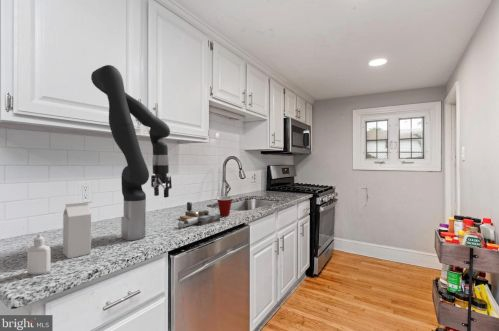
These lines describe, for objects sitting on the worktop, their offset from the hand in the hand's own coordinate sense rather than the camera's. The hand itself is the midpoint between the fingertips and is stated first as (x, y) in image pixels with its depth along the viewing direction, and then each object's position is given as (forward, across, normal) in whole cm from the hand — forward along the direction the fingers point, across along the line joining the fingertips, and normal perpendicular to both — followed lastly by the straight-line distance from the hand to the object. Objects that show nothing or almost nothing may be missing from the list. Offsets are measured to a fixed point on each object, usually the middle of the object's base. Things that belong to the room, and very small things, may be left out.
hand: (161, 196), depth 127 cm
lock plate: (+18, -3, +27) cm, 33 cm away
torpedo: (+18, +2, +17) cm, 25 cm away
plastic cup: (+20, -2, +47) cm, 51 cm away
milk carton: (+16, +4, -39) cm, 42 cm away
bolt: (+16, -10, +28) cm, 33 cm away
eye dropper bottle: (+15, +14, -52) cm, 56 cm away
